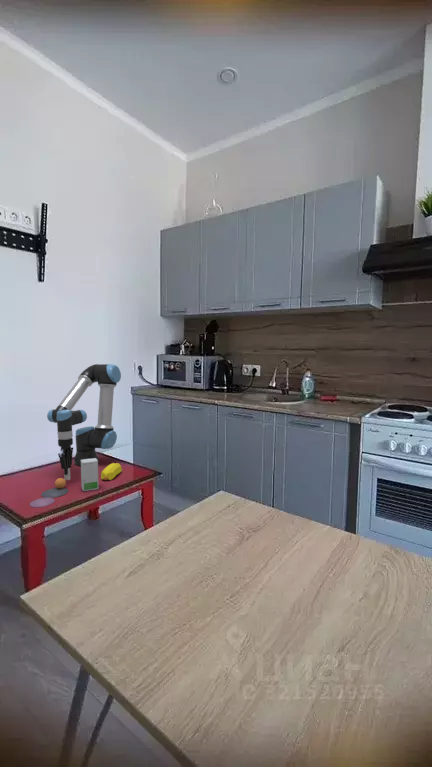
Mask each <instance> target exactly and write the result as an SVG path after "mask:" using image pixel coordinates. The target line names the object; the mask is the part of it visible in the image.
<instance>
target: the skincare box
mask: <svg viewBox="0 0 432 767" xmlns="http://www.w3.org/2000/svg"><path fill="white" fill-rule="evenodd" d="M98 460H99V459H98ZM98 460H97V459H96V458H92V459H83V460H81V466H80V483H81V489H82V492H87V491H88V492H89V491H95V490H99V461H98Z"/></svg>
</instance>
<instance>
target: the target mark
mask: <svg viewBox="0 0 432 767" xmlns="http://www.w3.org/2000/svg"><path fill="white" fill-rule="evenodd" d="M68 493H69V489H68V488H65V487H63V488H61V489H59V488H57V487H53V488H48V489H46V490H44V491H43V492H41V494H40V495H41V498H53V499H55V498H58V497H62V496H64V495H66V494H68Z"/></svg>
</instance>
